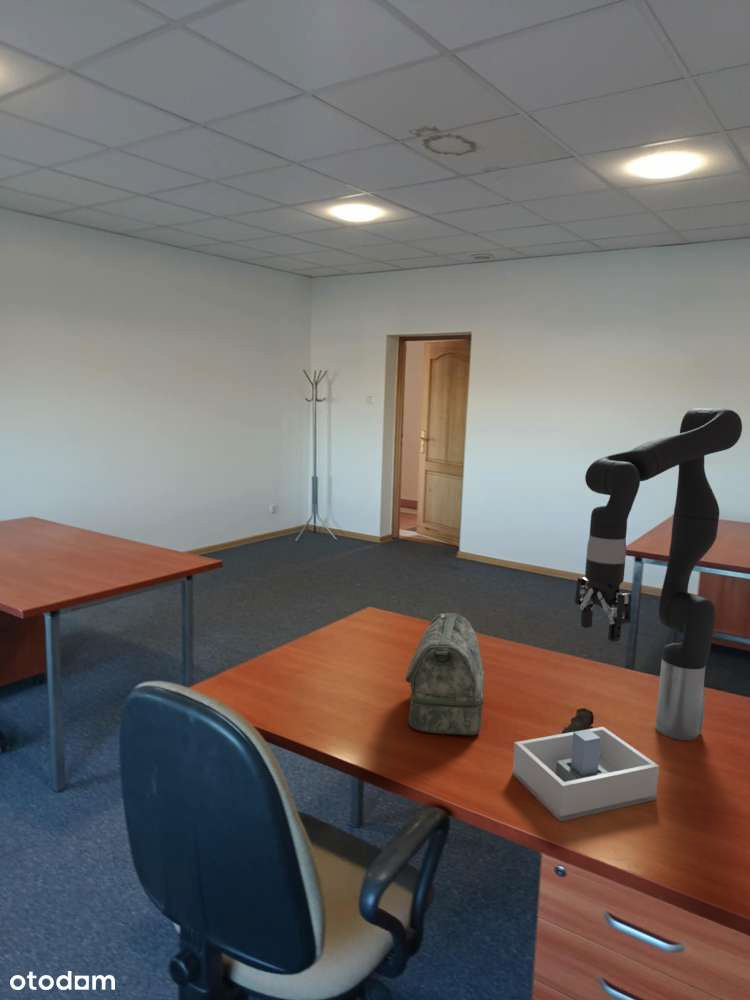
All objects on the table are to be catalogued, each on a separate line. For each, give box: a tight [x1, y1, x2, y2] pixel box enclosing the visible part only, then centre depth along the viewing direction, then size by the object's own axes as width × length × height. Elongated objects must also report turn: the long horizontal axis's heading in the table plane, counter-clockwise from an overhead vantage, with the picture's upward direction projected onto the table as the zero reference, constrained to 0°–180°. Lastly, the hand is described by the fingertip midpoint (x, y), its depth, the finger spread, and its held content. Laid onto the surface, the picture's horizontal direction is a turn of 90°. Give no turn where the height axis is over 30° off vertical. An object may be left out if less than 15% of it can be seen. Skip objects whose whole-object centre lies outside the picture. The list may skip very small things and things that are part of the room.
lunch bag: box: [405, 612, 485, 736], centre depth 158 cm, size 26×18×22 cm
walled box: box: [512, 726, 660, 822], centre depth 128 cm, size 22×16×7 cm
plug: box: [571, 728, 600, 777], centre depth 128 cm, size 4×4×10 cm
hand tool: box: [561, 707, 595, 734], centre depth 148 cm, size 19×4×5 cm, turn 145°
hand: (599, 633), depth 135 cm, fingers open, 8 cm apart
